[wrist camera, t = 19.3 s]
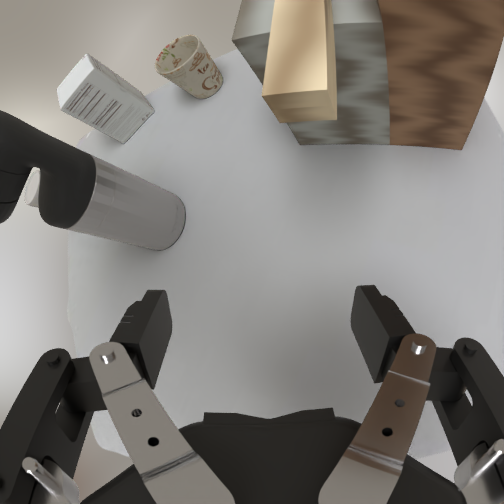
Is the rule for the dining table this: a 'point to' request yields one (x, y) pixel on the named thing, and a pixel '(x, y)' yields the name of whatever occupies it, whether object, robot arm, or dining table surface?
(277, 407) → the dining table surface
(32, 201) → the bottle
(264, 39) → the step shelf
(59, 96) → the supplement box
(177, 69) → the mug
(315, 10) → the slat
